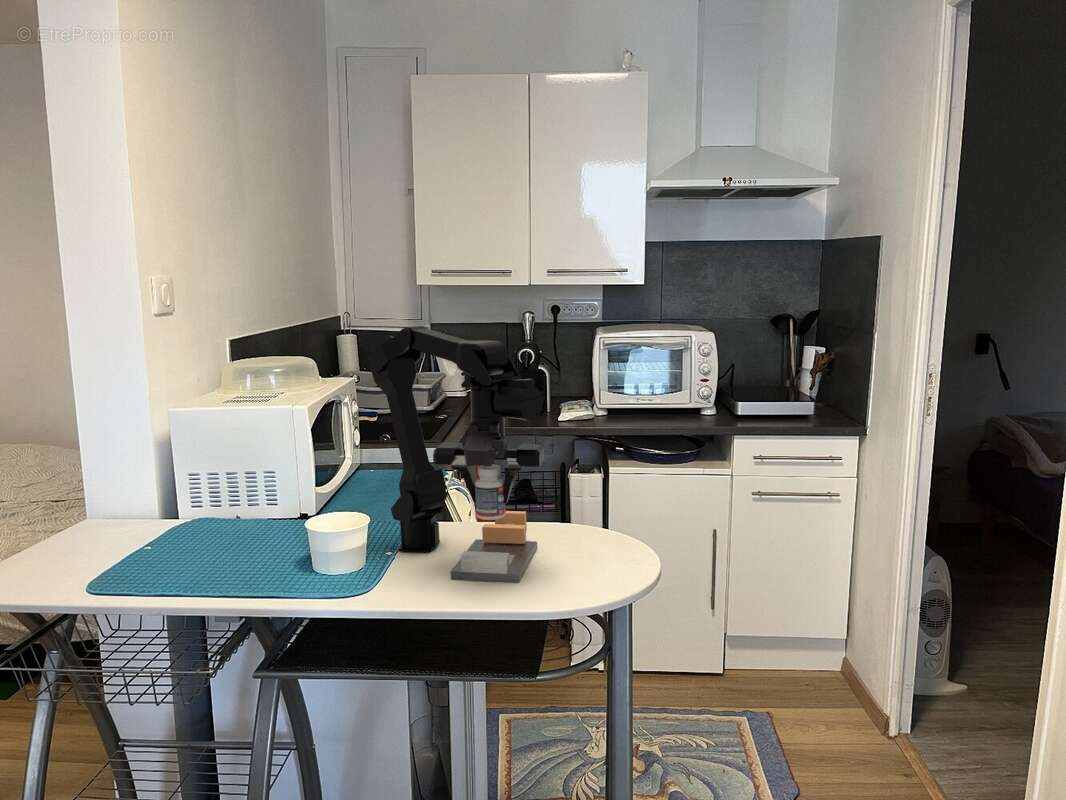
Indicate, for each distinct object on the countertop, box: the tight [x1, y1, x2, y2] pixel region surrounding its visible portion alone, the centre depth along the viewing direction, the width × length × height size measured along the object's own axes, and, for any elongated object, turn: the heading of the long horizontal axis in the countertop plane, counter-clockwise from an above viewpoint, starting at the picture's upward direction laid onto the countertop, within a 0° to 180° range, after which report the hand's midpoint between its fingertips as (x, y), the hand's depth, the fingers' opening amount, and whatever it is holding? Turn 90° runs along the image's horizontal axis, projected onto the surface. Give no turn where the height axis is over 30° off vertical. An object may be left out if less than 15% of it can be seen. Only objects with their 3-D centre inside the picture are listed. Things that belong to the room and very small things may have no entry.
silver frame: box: [450, 538, 538, 584], centre depth 144 cm, size 12×17×4 cm
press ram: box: [481, 510, 528, 544], centre depth 153 cm, size 8×8×4 cm
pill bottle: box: [475, 464, 507, 521], centre depth 139 cm, size 5×5×9 cm
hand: (490, 502), depth 139 cm, fingers closed on pill bottle, 5 cm apart
